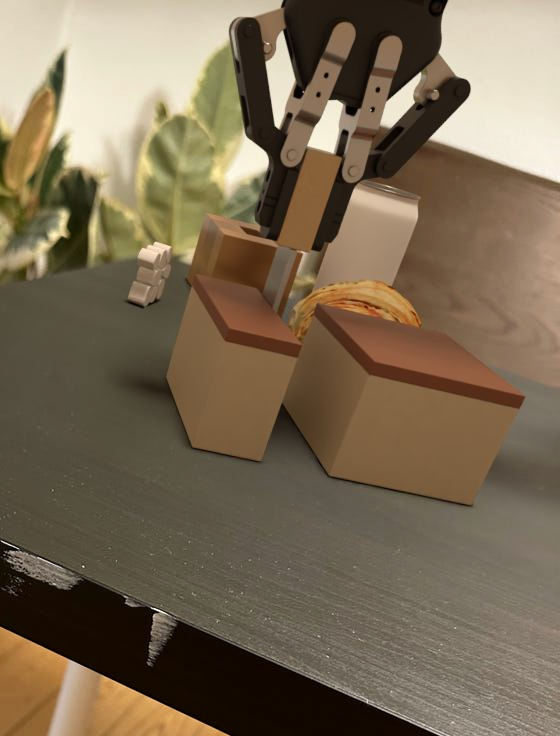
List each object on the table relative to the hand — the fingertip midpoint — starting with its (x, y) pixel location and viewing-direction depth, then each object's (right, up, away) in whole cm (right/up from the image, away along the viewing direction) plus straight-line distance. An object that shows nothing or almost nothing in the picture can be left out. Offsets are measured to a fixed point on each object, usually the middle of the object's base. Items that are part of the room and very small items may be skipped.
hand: (290, 241), depth 55 cm
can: (+11, +6, +33) cm, 35 cm away
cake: (+6, -11, +4) cm, 13 cm away
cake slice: (-4, -9, +2) cm, 11 cm away
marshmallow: (-7, +5, +24) cm, 25 cm away
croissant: (+8, -2, +20) cm, 21 cm away
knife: (-2, -8, +5) cm, 9 cm away
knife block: (+2, +8, +32) cm, 33 cm away
